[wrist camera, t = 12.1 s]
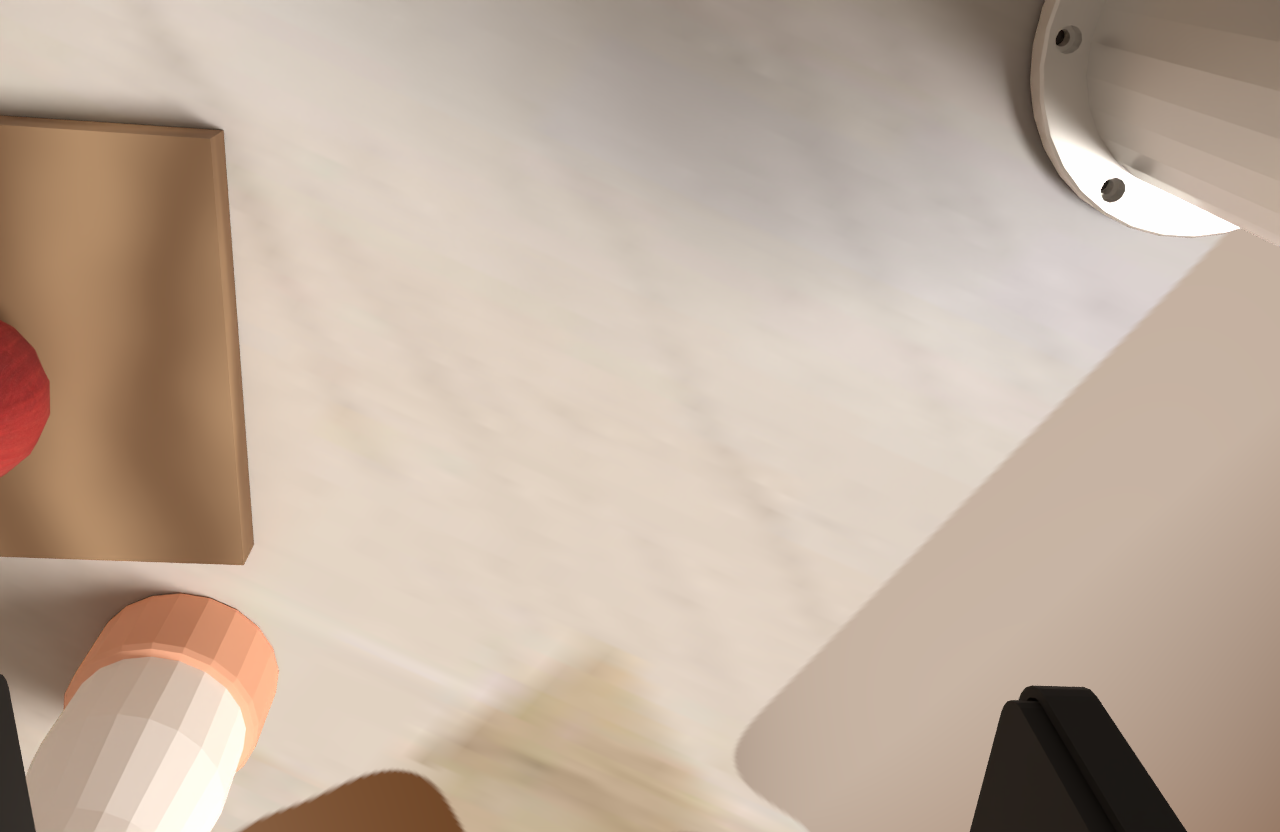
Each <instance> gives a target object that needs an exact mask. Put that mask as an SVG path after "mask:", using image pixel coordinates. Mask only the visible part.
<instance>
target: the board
mask: <svg viewBox="0 0 1280 832" xmlns="http://www.w3.org/2000/svg"><path fill="white" fill-rule="evenodd" d="M0 320H1V321H3V322H5V323H7V324H9V325H11V326H12V327H14V328H15V329H16V330H17V331H18V332H19V333H20V334H21V335H22V336H23V337H24V338H25V339H26V340H27V341H28V342H29V343H30V344H31V345H32V347H33V348H34V349H35V350H36V353H37V355H38V357H39V360H40V362H41V364H42V367H43V369H44V371H45V373H46V375H47V377H48V379H49V381H50V416H49V418H48V420H47V422H46V424H45V427H44V429H43V431H42V433H41V436H40V438H39V440H38V442H37V444H36V445H35V447H34V449H33V450H32V452H31V454H30V455H29V456H27V457H26V458H25V459H24V460H23V461H21V462H20V463H19V464H18V465H16V466H15V467H14V468H13V469H12V470H10V471H9V472H8V473H7V474H5V475H4V476H2V477H0V557H26V558H55V559H84V560H112V561H141V562H170V563H198V564H227V565H244V564H245V562H246V559H247V557H248V555H249V553H250V551H251V549H252V547H253V545H254V540H253V526H252V513H251V499H250V486H249V472H248V458H247V445H246V431H245V417H244V404H243V390H242V376H241V363H240V349H239V336H238V322H237V308H236V295H235V281H234V267H233V254H232V240H231V227H230V213H229V199H228V186H227V172H226V158H225V145H224V131H223V130H211V129H196V128H182V127H167V126H152V125H137V124H122V123H107V122H92V121H77V120H63V119H48V118H33V117H18V116H3V115H0Z"/></svg>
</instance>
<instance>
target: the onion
mask: <svg viewBox="0 0 1280 832" xmlns="http://www.w3.org/2000/svg"><path fill="white" fill-rule="evenodd" d="M49 416H50V381H49V379H48V377H47V375H46V373H45V371H44V369H43V367H42V364H41V362H40V360H39V357H38V355H37V353H36V350H35V349H34V348H33V347H32V345H31V344H30V343H29V342H28V341H27V340H26V339H25V338H24V337H23V336H22V335H21V334H20V333H19V332H18V331H17V330H16V329H15V328H14V327H12V326H11V325H9V324H7V323H5V322H3V321H1V320H0V477H2V476H4V475H5V474H7V473H8V472H9V471H10V470H12V469H13V468H14V467H15V466H16V465H18V464H19V463H20V462H21V461H23V460H24V459H25V458H26V457H27V456H29V455H30V454H31V452H32V450H33V449H34V447H35V445H36V444H37V442H38V440H39V438H40V436H41V433H42V431H43V429H44V427H45V424H46V422H47V420H48V418H49Z"/></svg>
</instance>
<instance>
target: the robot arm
mask: <svg viewBox="0 0 1280 832" xmlns="http://www.w3.org/2000/svg"><path fill="white" fill-rule="evenodd" d="M1060 30H1063V31H1064V33H1065V37H1064V39H1063V41H1062V42H1061V43H1060V44H1058V45H1056V37H1057V35H1058V33H1059V31H1060ZM1030 87H1031V96H1032V105H1033V115H1034V119H1035V122H1036V125H1037V128H1038V132H1039V135H1040V138H1041V141H1042V144H1043V147H1044V150H1045V151H1046V153H1047V155H1048V157H1049V158H1050V160H1051V162H1052V163H1053V165H1054V167H1055V169H1056V170H1057V172H1058V174H1059V176H1060V177H1061V178H1062V179H1063V180H1064V181H1065V182H1066V183H1067V184H1068V185H1069V187H1070V188H1071V189H1072V190H1073V191H1074V192H1075V193H1076V194H1077V195H1078V196H1079V197H1080V198H1081V199H1082V200H1084V201H1085V202H1086V203H1088V204H1089V205H1091V206H1092V207H1094V208H1095V209H1097V210H1098V211H1100V212H1101V213H1103V214H1104V215H1106V216H1108V217H1110V218H1112V219H1114V220H1116V221H1118V222H1120V223H1122V224H1123V225H1125V226H1127V227H1129V228H1133V229H1136V230H1140V231H1144V232H1147V233H1151V234H1155V235H1158V236H1170V237H1185V238H1195V237H1203V236H1211V235H1219V234H1226V233H1229V232H1232V231H1235V230H1239V229H1243V230H1245V231H1247V232H1249V233H1251V234H1253V235H1255V236H1257V237H1260V238H1262V239H1264V240H1266V241H1268V242H1270V243H1272V244H1274V245H1276V246H1278V247H1280V0H1045V2H1044V5H1043V7H1042V11H1041V15H1040V19H1039V23H1038V27H1037V30H1036V34H1035V38H1034V42H1033V49H1032V62H1031V75H1030ZM1107 180H1108V185H1107V187H1106V188H1105V189H1104V190H1103V191H1101V190H1100V189H1101V187H1102V186H1103V184H1104V182H1106V181H1107ZM0 832H36V830H35V824H34V819H33V814H32V809H31V803H30V798H29V793H28V787H27V782H26V777H25V772H24V766H23V761H22V756H21V750H20V745H19V740H18V735H17V729H16V724H15V719H14V713H13V708H12V703H11V698H10V692H9V687H8V684H7V681H6V679H5V678H4V676H3V675H1V674H0ZM970 832H1187V831H1186V830H1185V828H1184V827H1183V825H1182V824H1181V822H1180V821H1179V819H1178V818H1177V816H1176V815H1175V813H1174V812H1173V810H1172V809H1171V807H1170V806H1169V804H1168V803H1167V801H1166V800H1165V798H1164V797H1163V795H1162V794H1161V792H1160V791H1159V789H1158V788H1157V786H1156V785H1155V783H1154V782H1153V780H1152V779H1151V777H1150V776H1149V775H1148V773H1147V771H1146V770H1145V768H1144V767H1143V765H1142V764H1141V762H1140V761H1139V759H1138V758H1137V756H1136V755H1135V753H1134V752H1133V750H1132V749H1131V747H1130V746H1129V744H1128V743H1127V741H1126V740H1125V738H1124V737H1123V735H1122V734H1121V732H1120V731H1119V729H1118V728H1117V726H1116V725H1115V723H1114V722H1113V720H1112V719H1111V717H1110V716H1109V714H1108V713H1107V711H1106V710H1105V708H1104V707H1103V705H1102V704H1101V702H1100V701H1099V699H1098V698H1097V696H1096V695H1095V694H1094V693H1093V692H1092V691H1091V690H1090V689H1087V688H1085V687H1058V686H1029V687H1026V688H1025V689H1024V690H1023V692H1022V693H1021V695H1020V698H1019V700H1011V701H1008V702H1007V703H1006V704H1005V705H1004V707H1003V710H1002V712H1001V715H1000V719H999V723H998V727H997V731H996V735H995V738H994V742H993V746H992V750H991V753H990V757H989V761H988V765H987V769H986V772H985V777H984V780H983V784H982V788H981V791H980V795H979V799H978V803H977V807H976V810H975V814H974V818H973V822H972V825H971V829H970Z"/></svg>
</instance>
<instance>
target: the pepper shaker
mask: <svg viewBox="0 0 1280 832" xmlns="http://www.w3.org/2000/svg"><path fill="white" fill-rule="evenodd" d="M278 672H279V670H278V667H277V663H276V659H275V655H274V651H273V648H272V646H271V645H270V643H269V642H268V641H267V639H266V638H265V636H264V635H263V633H262V632H261V630H260V629H259V627H257V626H256V625H255V624H254V623H252V622H251V621H250V620H249V619H247V618H246V617H245V616H244V615H243V614H241V613H240V612H239V611H238V610H236V609H233V608H231V607H229V606H227V605H224V604H222V603H220V602H218V601H215V600H213V599H211V598H206V597H200V596H194V595H188V594H182V593H179V594H168V595H157V596H151V597H148V598H146V599H143V600H140V601H138V602H135V603H133V604H130V605H128V606H126V607H125V608H124V609H123V610H121V611H120V612H119V613H118V614H117V615H116V616H114V617H113V618H112V619H111V620H110V621H109V622H108V623H107V624H106V626H105V627H104V629H103V631H102V632H101V634H100V635H99V637H98V638H97V640H96V642H95V643H94V645H93V646H92V648H91V649H90V651H89V652H88V654H87V656H86V657H85V659H84V660H83V662H82V663H81V665H80V666H79V668H78V670H77V671H76V673H75V675H74V677H73V678H72V680H71V682H70V684H69V686H68V688H67V690H66V692H65V695H64V711H63V712H62V714H61V715H60V717H59V718H58V720H57V721H56V722H55V724H54V725H53V727H52V728H51V730H50V731H49V733H48V734H47V736H46V737H45V739H44V740H43V741H42V743H41V745H40V747H39V749H38V751H37V753H36V754H35V756H34V758H33V760H32V762H31V764H30V767H29V770H28V772H27V775H26V782H27V787H28V793H29V798H30V803H31V809H32V814H33V819H34V824H35V830H36V832H210V831H211V830H212V828H213V826H214V825H215V823H216V821H217V820H218V818H219V816H220V815H221V813H222V810H223V807H224V804H225V801H226V798H227V795H228V792H229V789H230V786H231V783H232V780H233V777H234V775H235V772H237V771H238V770H239V769H241V768H242V767H243V766H244V765H245V763H246V761H247V760H248V758H249V756H250V755H251V753H252V751H253V750H254V748H255V747H256V744H257V741H258V739H259V736H260V733H261V731H262V728H263V725H264V723H265V720H266V717H267V715H268V712H269V709H270V706H271V704H272V701H273V698H274V696H275V693H276V686H277V679H278Z"/></svg>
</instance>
